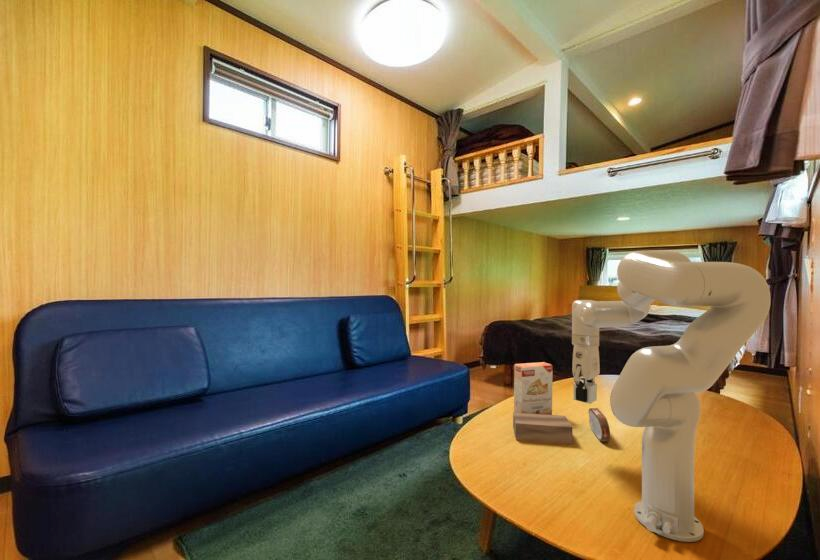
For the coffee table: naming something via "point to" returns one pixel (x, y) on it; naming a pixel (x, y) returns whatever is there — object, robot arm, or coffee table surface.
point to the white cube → (589, 392)
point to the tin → (599, 425)
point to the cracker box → (533, 388)
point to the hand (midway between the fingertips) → (585, 398)
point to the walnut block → (542, 428)
